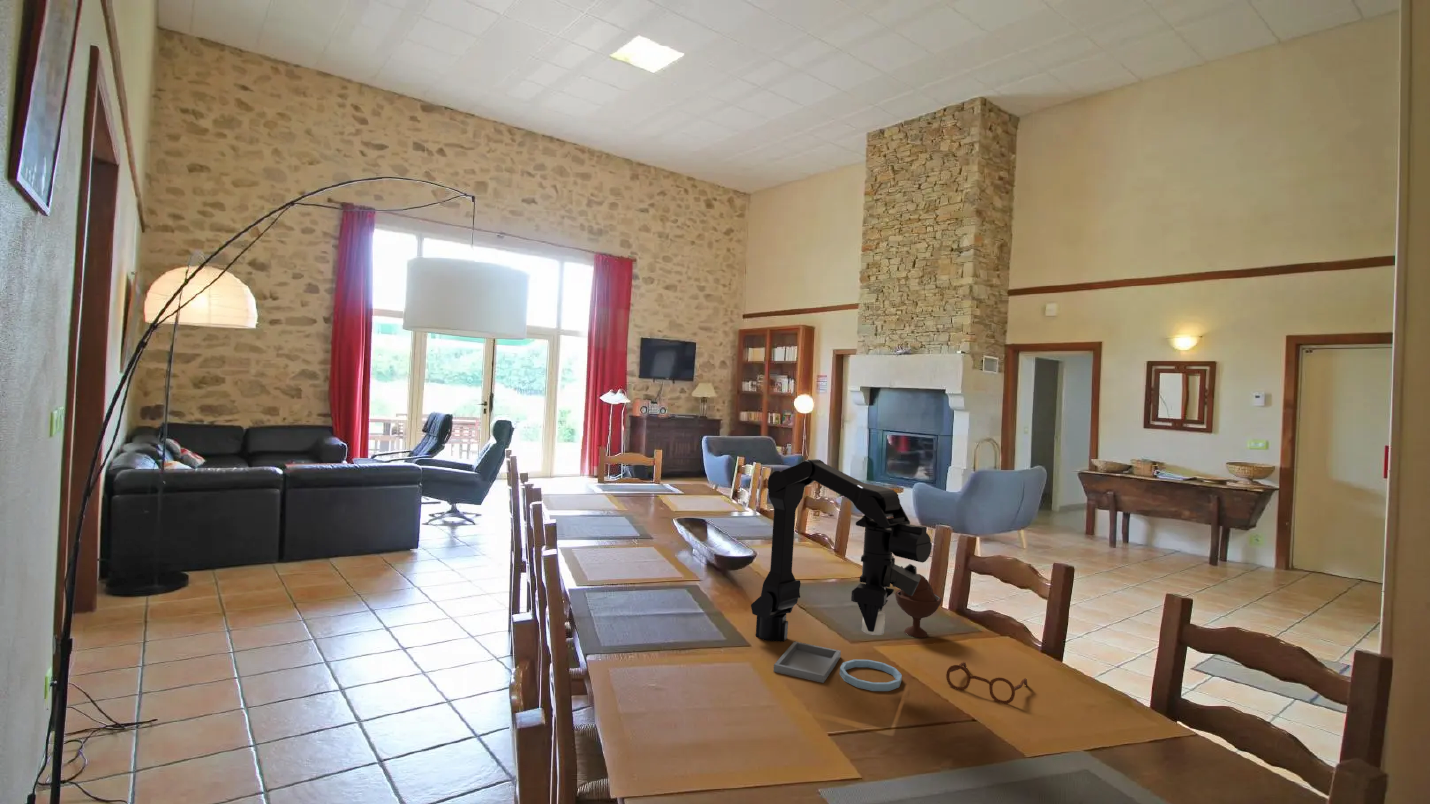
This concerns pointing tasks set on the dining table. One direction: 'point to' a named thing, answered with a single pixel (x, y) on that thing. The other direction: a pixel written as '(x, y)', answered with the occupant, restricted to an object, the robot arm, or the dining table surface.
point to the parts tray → (807, 661)
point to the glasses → (969, 677)
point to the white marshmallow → (879, 624)
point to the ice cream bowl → (918, 605)
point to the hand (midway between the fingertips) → (873, 627)
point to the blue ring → (866, 684)
